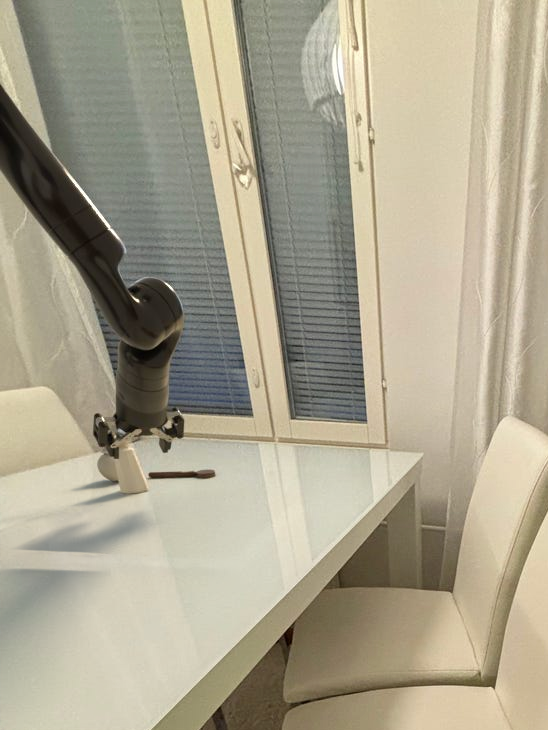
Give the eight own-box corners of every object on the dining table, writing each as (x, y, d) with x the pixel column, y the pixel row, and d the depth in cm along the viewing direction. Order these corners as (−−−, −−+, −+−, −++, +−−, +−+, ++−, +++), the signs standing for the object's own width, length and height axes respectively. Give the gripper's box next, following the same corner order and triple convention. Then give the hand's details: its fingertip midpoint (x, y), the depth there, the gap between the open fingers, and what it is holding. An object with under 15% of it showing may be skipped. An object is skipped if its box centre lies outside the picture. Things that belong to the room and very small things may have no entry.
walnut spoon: (146, 480, 123) (145, 474, 122) (151, 475, 126) (149, 470, 126) (214, 477, 126) (213, 472, 125) (216, 473, 129) (215, 468, 129)
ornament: (99, 485, 118) (83, 436, 113) (107, 476, 125) (92, 430, 119) (130, 483, 120) (116, 435, 115) (137, 475, 126) (124, 429, 121)
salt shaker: (130, 486, 118) (114, 433, 113) (154, 487, 118) (139, 433, 112) (114, 493, 113) (97, 438, 108) (140, 494, 113) (124, 438, 108)
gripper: (177, 372, 96) (169, 431, 109) (83, 375, 87) (87, 439, 100) (196, 408, 96) (186, 463, 108) (104, 415, 87) (105, 474, 99)
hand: (139, 452), depth 104 cm, fingers open, 8 cm apart
